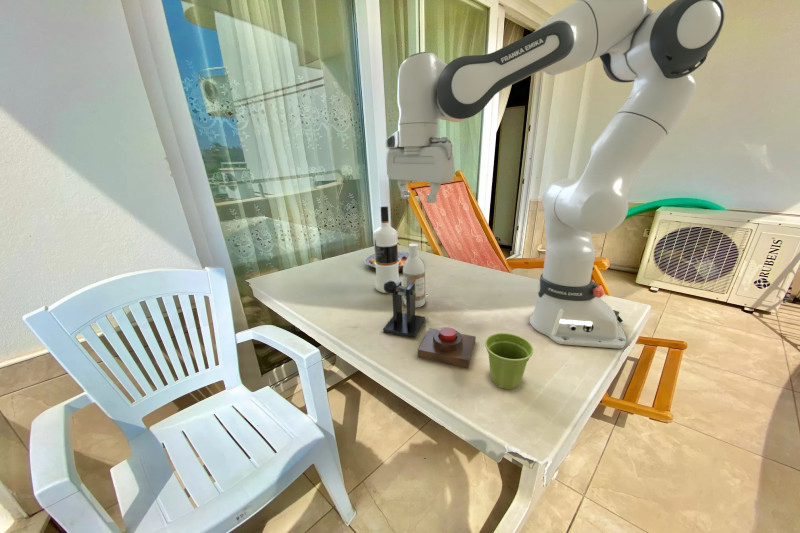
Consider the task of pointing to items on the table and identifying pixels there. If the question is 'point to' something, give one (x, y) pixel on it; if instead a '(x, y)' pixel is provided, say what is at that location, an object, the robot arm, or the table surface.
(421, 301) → the bath foam
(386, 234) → the vodka
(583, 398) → the table surface
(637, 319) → the table surface
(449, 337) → the button
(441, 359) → the button block
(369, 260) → the food plate
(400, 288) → the lever
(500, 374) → the plant pot
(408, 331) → the tap bracket
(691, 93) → the robot arm
